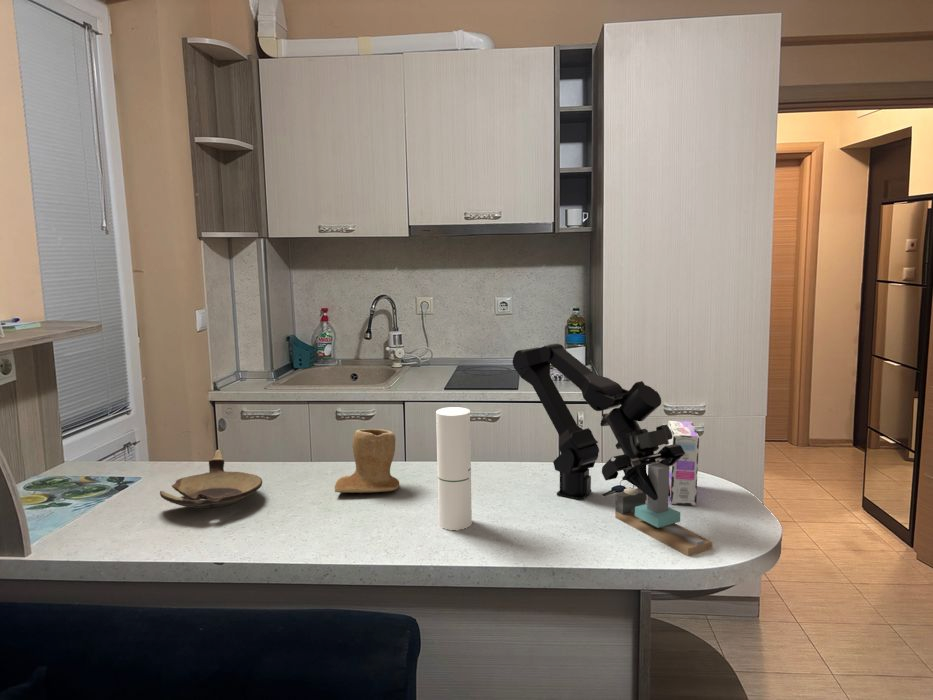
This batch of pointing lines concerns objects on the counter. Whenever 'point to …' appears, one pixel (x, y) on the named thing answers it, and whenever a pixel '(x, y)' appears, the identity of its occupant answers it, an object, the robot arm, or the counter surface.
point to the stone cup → (370, 463)
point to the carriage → (658, 509)
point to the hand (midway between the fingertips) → (662, 497)
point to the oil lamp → (214, 486)
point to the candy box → (684, 463)
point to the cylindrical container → (454, 467)
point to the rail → (667, 534)
